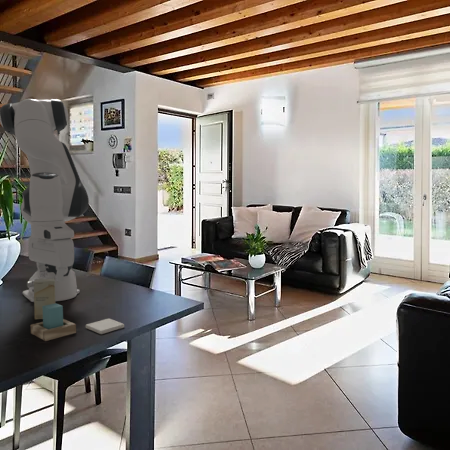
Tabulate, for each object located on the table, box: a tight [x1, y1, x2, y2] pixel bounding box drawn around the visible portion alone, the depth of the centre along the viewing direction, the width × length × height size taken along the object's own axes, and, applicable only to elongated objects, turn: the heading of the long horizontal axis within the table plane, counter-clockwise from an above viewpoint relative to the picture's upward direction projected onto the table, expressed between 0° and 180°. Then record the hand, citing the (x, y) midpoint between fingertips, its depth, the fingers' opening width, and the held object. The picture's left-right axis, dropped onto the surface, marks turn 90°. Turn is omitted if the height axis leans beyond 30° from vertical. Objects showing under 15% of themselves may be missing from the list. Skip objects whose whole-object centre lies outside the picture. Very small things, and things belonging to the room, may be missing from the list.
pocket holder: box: [30, 318, 77, 342], centre depth 124 cm, size 9×9×2 cm
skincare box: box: [33, 278, 56, 320], centre depth 139 cm, size 6×4×12 cm
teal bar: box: [42, 302, 64, 329], centre depth 124 cm, size 4×4×8 cm
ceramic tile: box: [85, 318, 125, 335], centre depth 129 cm, size 8×8×1 cm
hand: (51, 279), depth 123 cm, fingers open, 8 cm apart
